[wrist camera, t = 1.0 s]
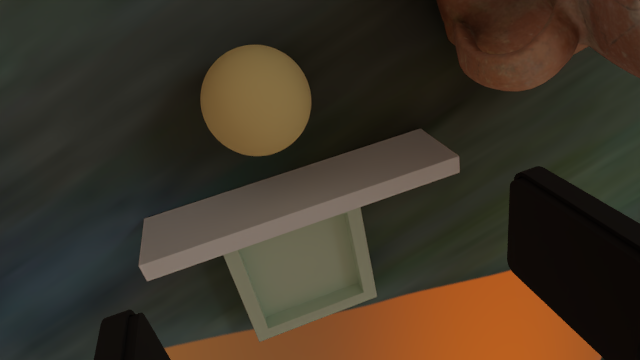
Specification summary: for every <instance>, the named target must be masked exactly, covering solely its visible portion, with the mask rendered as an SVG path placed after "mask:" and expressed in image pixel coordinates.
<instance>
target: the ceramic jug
mask: <svg viewBox="0 0 640 360" xmlns="http://www.w3.org/2000/svg"><path fill="white" fill-rule="evenodd" d="M436 1H437V4H438V7H439V11H440V14H441V18H442V20H443V22H444V26H445V30H446V34H447V38H448V40H449V41H450V42H451V43H452V44H453V45H455V46H456V51H457V55H458V60H459V65H460V68H462V69H463V72H464V73H465V74H466V75H467V76H468V77H470V78H471V79H472V80H474V81H475V82H477V83H479V84H481V85H483V86H485V87H489V88H493V89H497V90H502V91H523V90H528V89H532V88H535V87H537V86H539V85H541V84H543V83H545V82H546V81H548V80H549V79H550V78H552V77H553V76H554V75H556V74H557V73H558V72H559V71H560V70H561V68H562V67H563V66H564V65H565V64H566V63H567V62H568V61H569V60H570V59H571V57H572V56H573V54H576V53H577V52H579V51H581V50H583V49H584V48H586V47H588V46H590V47H591V48H593V49H594V50H595V51H597V52H598V53H599V54H601V55H602V56H604V57H605V58H607V59H608V60H609V61H611V62H612V63H614V64H616V65H617V66H619V67H621V68H622V69H624V70H625V71H627V72H629V73H631V74H633V75H635V76H637V77H639V78H640V0H436Z"/></svg>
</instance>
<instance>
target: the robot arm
mask: <svg viewBox="0 0 640 360" xmlns="http://www.w3.org/2000/svg"><path fill="white" fill-rule="evenodd" d="M507 262H508V265H509V267H510V269H511V270H512V272H513V273H514V274H515V275H516V276H517V277H518V278H519V279H520V280H521V281H522V282H524V283H525V284H526V285H527V286H528V287H529V288H530V289H531V290H532V291H533V292H534V293H535V294H536V295H537V296H538V297H539V298H541V300H543V301H544V302H545V303H546V304H547V305H548V306H549V307H550V308H551V309H552V310H553V311H554V312H555V313H556V314H557V315H558V316H560V317H561V318H562V319H563V320H564V321H565V322H566V323H567V324H568V325H569V326H570V327H571V328H572V329H573V330H574V331H576V333H578V334H579V335H580V336H581V337H582V338H583V339H584V340H585V341H586V342H587V343H588V344H589V345H590V346H591V347H592V348H593V349H594V350H595V351H597V352H598V353H599V354H600V355H601V356H602V357H603V358H604V359H605V360H640V224H639V223H638V222H636V221H634V220H633V219H631V218H629V217H627V216H626V215H624V214H622V213H621V212H619V211H617V210H615V209H614V208H612V207H610V206H609V205H607V204H605V203H603V202H602V201H600V200H598V199H596V198H595V197H593V196H591V195H590V194H588V193H586V192H584V191H583V190H581V189H579V188H578V187H576V186H574V185H572V184H571V183H569V182H567V181H566V180H564V179H562V178H560V177H559V176H557V175H555V174H554V173H552V172H550V171H548V170H547V169H545V168H543V167H540V166H538V167H534V168H531V169H528V170H525V171H523V172H520V173H518V174H516V175H515V177H514V181H512V182H511V184H510V199H509V225H508V251H507ZM94 360H170V358H169V356H168V355H167V353H166V351H165V349H164V348H163V346H162V344H161V342H160V341H159V339H158V337H157V336H156V334H155V332H154V331H153V329H152V327H151V325H150V324H149V322H148V320H147V319H146V317H145V315H144V314H143V313H138V314H135V313H134V312H133V311H132V310H127V311H124V312H121V313H119V314H116V315H113V316H110V317H107V318H104V319H103V320H102V323H101V326H100V331H99V336H98V341H97V346H96V351H95V356H94Z"/></svg>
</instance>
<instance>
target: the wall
mask: <svg viewBox="0 0 640 360" xmlns="http://www.w3.org/2000/svg"><path fill="white" fill-rule="evenodd" d="M459 172H460V165H459V156H458V155H457V154H456V153H454V152H453V151H451V150H450V149H449V148H447V147H446V146H444V145H443V144H442V143H440V142H439V141H437V140H436V139H435V138H433V137H432V136H430V135H429V134H428V133H426V132H425V131H423V130H422V129H421V128H420V129H417V130H414V131H411V132H408V133H405V134H402V135H399V136H396V137H393V138H390V139H387V140H383V141H380V142H377V143H374V144H371V145H368V146H365V147H362V148H359V149H356V150H353V151H350V152H347V153H344V154H341V155H338V156H335V157H331V158H328V159H325V160H322V161H319V162H316V163H313V164H310V165H307V166H304V167H301V168H298V169H295V170H292V171H289V172H286V173H283V174H280V175H276V176H273V177H270V178H267V179H264V180H261V181H258V182H255V183H252V184H249V185H246V186H243V187H240V188H237V189H234V190H231V191H228V192H224V193H221V194H218V195H215V196H212V197H209V198H206V199H203V200H200V201H197V202H194V203H191V204H188V205H185V206H182V207H179V208H176V209H172V210H169V211H166V212H163V213H160V214H157V215H154V216H151V217H148V218H145V219H144V224H143V233H142V241H141V249H140V258H139V268H140V269H141V271H142V273H143V275H144V277H145V278H146V280H147V281H150V280H153V279H156V278H159V277H162V276H164V275H167V274H170V273H173V272H176V271H179V270H182V269H184V268H187V267H190V266H193V265H196V264H199V263H202V262H204V261H207V260H210V259H213V258H216V257H219V256H222V255H225V254H227V253H230V252H233V251H236V250H239V249H242V248H245V247H247V246H250V245H253V244H256V243H259V242H262V241H265V240H267V239H270V238H273V237H276V236H279V235H282V234H285V233H288V232H290V231H293V230H296V229H299V228H302V227H305V226H308V225H310V224H313V223H316V222H319V221H322V220H325V219H328V218H330V217H333V216H336V215H339V214H342V213H345V212H348V211H351V210H353V209H356V208H359V207H362V206H365V205H368V204H371V203H373V202H376V201H379V200H382V199H385V198H388V197H391V196H394V195H396V194H399V193H402V192H405V191H408V190H411V189H414V188H416V187H419V186H422V185H425V184H428V183H431V182H434V181H436V180H439V179H442V178H445V177H448V176H451V175H454V174H457V173H459Z"/></svg>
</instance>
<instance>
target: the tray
mask: <svg viewBox="0 0 640 360" xmlns="http://www.w3.org/2000/svg"><path fill="white" fill-rule="evenodd" d="M223 256H224V258H225V261H226V263H227V265H228V268H229V270H230V273H231V275H232V277H233V280H234V282H235V285H236V287H237V289H238V292H239V294H240V297H241V299H242V301H243V304H244V306H245V309H246V311H247V313H248V316H249V318H250V320H251V323H252V325H253V328H254V330H255V332H256V335H257V337H258V340H259V342H260V341H263V340H266V339H268V338H271V337H273V336H276V335H279V334H281V333H284V332H286V331H289V330H291V329H294V328H297V327H300V326H302V325H305V324H307V323H310V322H312V321H315V320H317V319H320V318H323V317H325V316H328V315H331V314H333V313H336V312H338V311H341V310H344V309H346V308H349V307H351V306H354V305H357V304H359V303H362V302H364V301H367V300H370V299H372V298H375V297H377V294H376V288H375V283H374V278H373V272H372V267H371V262H370V256H369V251H368V246H367V240H366V235H365V230H364V224H363V219H362V214H361V208H360V207H359V208H356V209H353V210H351V211H348V212H345V213H342V214H339V215H336V216H333V217H330V218H328V219H325V220H322V221H319V222H316V223H313V224H310V225H308V226H305V227H302V228H299V229H296V230H293V231H290V232H288V233H285V234H282V235H279V236H276V237H273V238H270V239H267V240H265V241H262V242H259V243H256V244H253V245H250V246H247V247H245V248H242V249H239V250H236V251H233V252H230V253H227V254H225V255H223Z"/></svg>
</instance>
